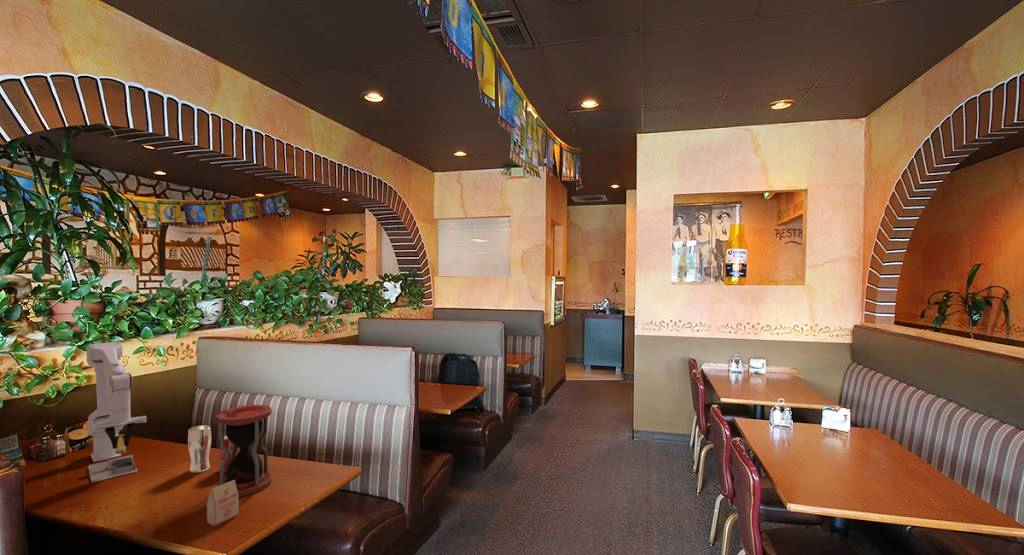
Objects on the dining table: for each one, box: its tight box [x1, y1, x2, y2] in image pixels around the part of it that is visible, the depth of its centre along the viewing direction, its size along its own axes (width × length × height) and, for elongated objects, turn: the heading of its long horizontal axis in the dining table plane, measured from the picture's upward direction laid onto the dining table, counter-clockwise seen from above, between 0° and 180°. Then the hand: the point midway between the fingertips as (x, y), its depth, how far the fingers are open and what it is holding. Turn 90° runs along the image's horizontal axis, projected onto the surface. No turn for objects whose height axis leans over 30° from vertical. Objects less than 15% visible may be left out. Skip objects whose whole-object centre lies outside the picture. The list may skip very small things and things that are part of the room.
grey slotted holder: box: [87, 454, 134, 471], centre depth 168 cm, size 9×12×4 cm
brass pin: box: [115, 433, 127, 455], centre depth 163 cm, size 3×3×6 cm
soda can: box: [219, 434, 240, 473], centre depth 166 cm, size 7×7×12 cm
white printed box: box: [206, 480, 240, 527], centre depth 133 cm, size 4×7×10 cm, turn 152°
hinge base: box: [88, 460, 138, 483], centre depth 163 cm, size 9×12×4 cm
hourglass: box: [215, 404, 273, 497], centre depth 153 cm, size 16×16×25 cm
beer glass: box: [187, 424, 212, 474], centre depth 166 cm, size 7×7×15 cm
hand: (120, 446), depth 163 cm, fingers closed on brass pin, 3 cm apart
